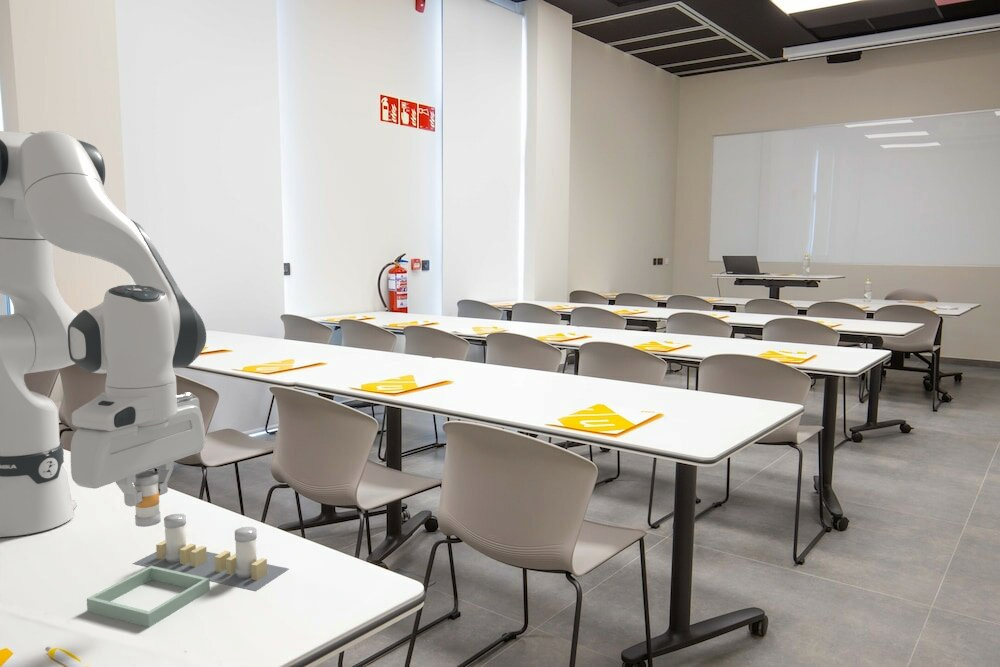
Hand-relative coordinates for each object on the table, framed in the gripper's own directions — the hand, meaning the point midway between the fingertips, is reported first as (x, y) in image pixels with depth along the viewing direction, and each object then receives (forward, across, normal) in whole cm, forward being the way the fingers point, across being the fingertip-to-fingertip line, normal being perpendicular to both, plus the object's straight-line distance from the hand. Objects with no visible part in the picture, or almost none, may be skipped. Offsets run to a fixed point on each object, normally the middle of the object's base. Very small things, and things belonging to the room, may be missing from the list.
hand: (146, 499), depth 101 cm
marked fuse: (+3, 0, 0) cm, 3 cm away
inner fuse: (+15, -12, -7) cm, 21 cm away
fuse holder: (+16, -12, 0) cm, 20 cm away
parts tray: (+16, 0, 0) cm, 16 cm away
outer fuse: (+15, -12, +7) cm, 20 cm away
